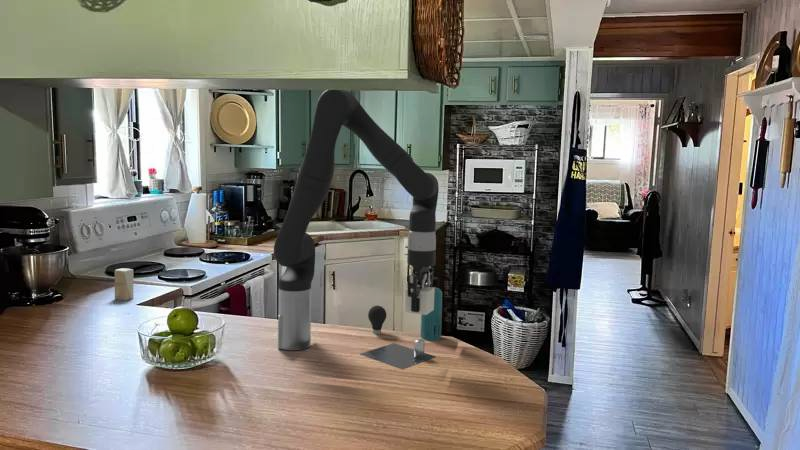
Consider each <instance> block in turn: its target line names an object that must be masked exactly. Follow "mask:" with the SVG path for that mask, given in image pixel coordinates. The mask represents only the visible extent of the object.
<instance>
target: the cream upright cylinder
mask: <svg viewBox="0 0 800 450" xmlns="http://www.w3.org/2000/svg"><path fill="white" fill-rule="evenodd" d="M132 299H134V269H132V268H127V267H126V268H125V267H124V268H123V267H122V268H117V269H115V270H114V300H118V301H128V300H132Z"/></svg>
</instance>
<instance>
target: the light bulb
mask: <svg viewBox="0 0 800 450" xmlns="http://www.w3.org/2000/svg"><path fill="white" fill-rule="evenodd" d="M386 311H387V310H386V309H385V307H383V306H381V305H373V306H372V307H371V308H370V309H369V311H368V313H367V317H368V320H369V322H370V324H371V327H372V333H373V334H375V335H380V334H382V328H383V325H384V323H385V321H386V319H387V312H386Z"/></svg>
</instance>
